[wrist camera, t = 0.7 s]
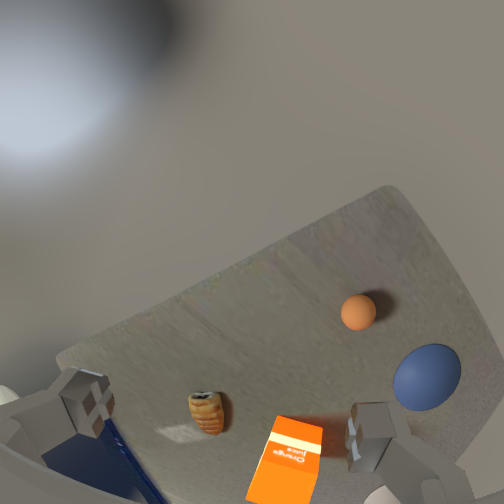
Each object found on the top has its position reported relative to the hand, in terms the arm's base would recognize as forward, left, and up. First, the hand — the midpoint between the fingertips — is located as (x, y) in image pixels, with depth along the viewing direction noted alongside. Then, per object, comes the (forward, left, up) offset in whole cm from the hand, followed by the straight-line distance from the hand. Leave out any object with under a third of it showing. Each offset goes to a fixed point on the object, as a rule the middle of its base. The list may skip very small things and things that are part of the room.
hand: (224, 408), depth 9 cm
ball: (-9, -2, -41) cm, 42 cm away
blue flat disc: (-28, -2, -44) cm, 52 cm away
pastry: (-4, +31, -44) cm, 54 cm away
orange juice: (-19, +23, -44) cm, 53 cm away
